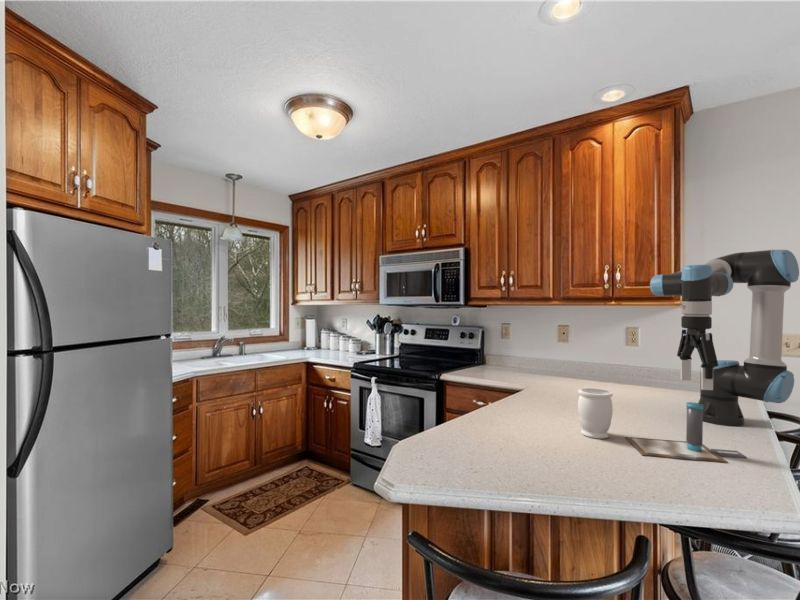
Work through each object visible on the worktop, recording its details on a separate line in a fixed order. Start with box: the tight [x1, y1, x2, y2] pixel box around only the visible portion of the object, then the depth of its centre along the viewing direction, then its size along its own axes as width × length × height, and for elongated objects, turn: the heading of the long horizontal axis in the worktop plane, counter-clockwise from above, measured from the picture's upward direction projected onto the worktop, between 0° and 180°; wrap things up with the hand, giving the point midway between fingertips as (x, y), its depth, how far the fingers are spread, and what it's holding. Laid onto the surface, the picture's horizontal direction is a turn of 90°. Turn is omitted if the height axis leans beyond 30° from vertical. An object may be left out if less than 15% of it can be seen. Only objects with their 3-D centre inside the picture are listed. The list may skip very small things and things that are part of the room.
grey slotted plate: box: [710, 448, 748, 459], centre depth 124 cm, size 7×5×1 cm
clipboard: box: [625, 436, 729, 464], centre depth 127 cm, size 22×16×1 cm
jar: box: [577, 387, 614, 440], centre depth 140 cm, size 11×10×15 cm
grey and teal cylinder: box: [685, 401, 704, 452], centre depth 126 cm, size 4×4×14 cm
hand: (695, 384), depth 126 cm, fingers open, 13 cm apart
